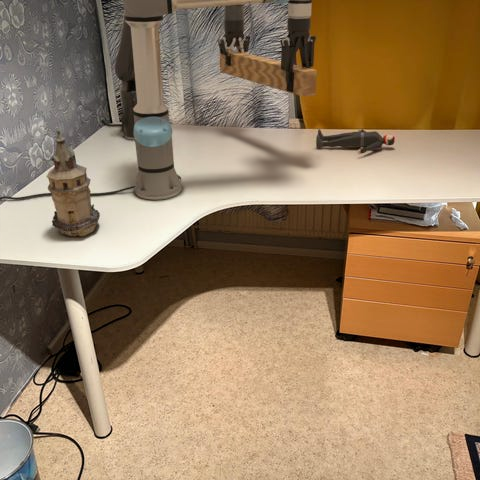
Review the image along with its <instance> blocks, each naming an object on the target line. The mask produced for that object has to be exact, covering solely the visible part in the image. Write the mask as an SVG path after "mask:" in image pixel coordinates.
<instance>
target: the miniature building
mask: <svg viewBox="0 0 480 480" xmlns="http://www.w3.org/2000/svg"><path fill="white" fill-rule="evenodd" d="M56 134H57V136H56V138H55V140H54V141H55V142H56V147H55V154H54V156H52V157H51V161H52V162H53V165H54V167H53V168H51V169H50V170H49V171H48V173H47V174H46V178H47V179H48V182H49V184H48V186H47V190H48V191H49V193H52V195H51V200H52V201H53V205H54V209H55V211H53V217H52V220H51V223H52V225H51V227H54V228H56V229H58V230H59V231H60V234H63V235H64V234H65V235H66V236H69V237H77V236H80V237H83V236H87V235H88V234H90V233H93V232H94V231H95V229H96V226H97V225H98V223H99V220H100V216H101V213H100V212H99V210H98V209H96V208H95V204H92V201H91V200H92V199H91V198H92V197H91V195H90V193H92V191H91V188H90V184H91V178H89V177H88V174H87V167H85V166H84V165H83V166H82V165H80V164H77V160H76V154H75V151H74V150H70V149H69V147H68V145H67V143H66V138H65V137H64V136H63V135H61V130H60V129H56Z"/></svg>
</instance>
